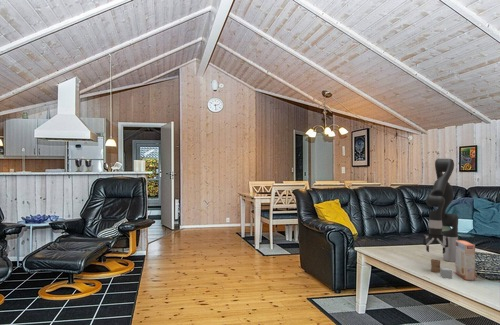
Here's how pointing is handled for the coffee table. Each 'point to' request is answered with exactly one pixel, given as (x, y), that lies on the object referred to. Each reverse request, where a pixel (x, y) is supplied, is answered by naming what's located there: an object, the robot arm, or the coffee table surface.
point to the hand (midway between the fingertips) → (435, 252)
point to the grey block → (446, 273)
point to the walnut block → (435, 266)
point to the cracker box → (465, 260)
